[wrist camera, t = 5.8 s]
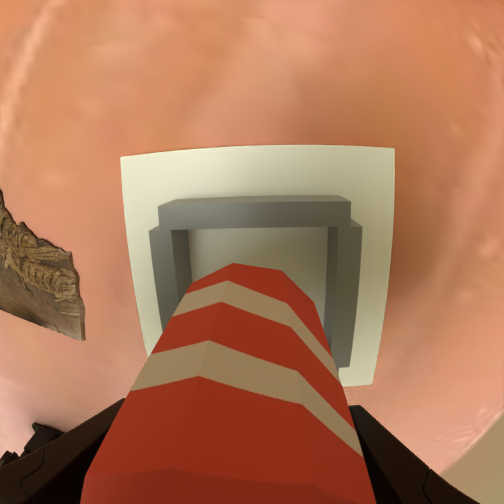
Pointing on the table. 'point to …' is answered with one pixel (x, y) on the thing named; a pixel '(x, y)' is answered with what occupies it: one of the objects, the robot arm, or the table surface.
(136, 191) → the can holder
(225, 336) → the beverage can
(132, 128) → the table surface
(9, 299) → the brown fossil slab
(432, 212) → the table surface
